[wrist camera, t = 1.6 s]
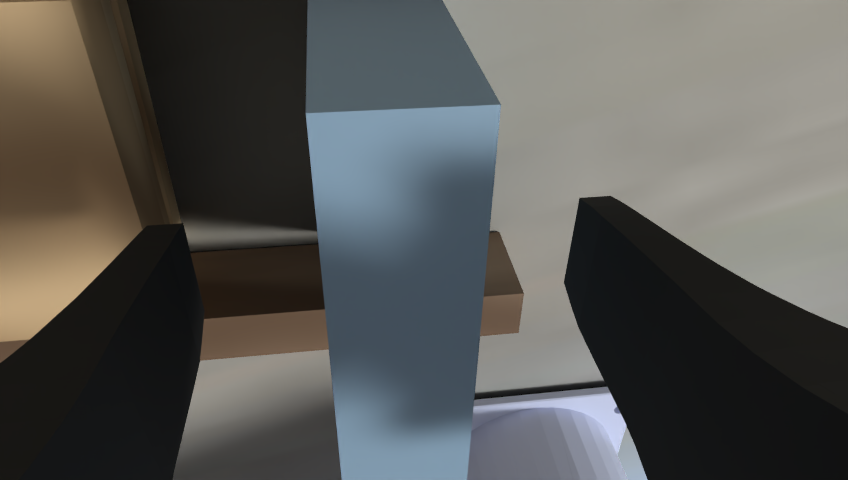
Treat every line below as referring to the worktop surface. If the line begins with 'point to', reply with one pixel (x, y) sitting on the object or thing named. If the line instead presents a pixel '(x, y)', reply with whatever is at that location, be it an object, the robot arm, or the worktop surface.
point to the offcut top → (63, 159)
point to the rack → (301, 300)
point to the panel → (400, 228)
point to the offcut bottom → (145, 104)
